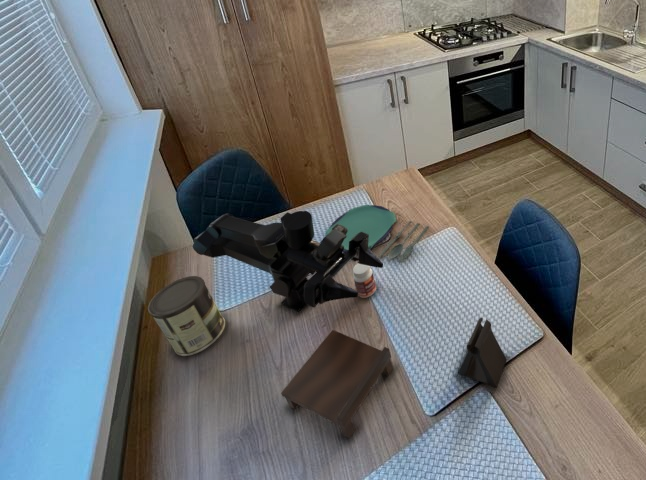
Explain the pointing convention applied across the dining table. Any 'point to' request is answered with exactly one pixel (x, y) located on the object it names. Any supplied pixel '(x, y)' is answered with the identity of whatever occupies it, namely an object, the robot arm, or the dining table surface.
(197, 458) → the dining table surface
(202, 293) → the coffee can
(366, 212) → the cutlery set
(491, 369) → the phone stand
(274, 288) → the robot arm
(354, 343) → the shelf
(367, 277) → the pill bottle
